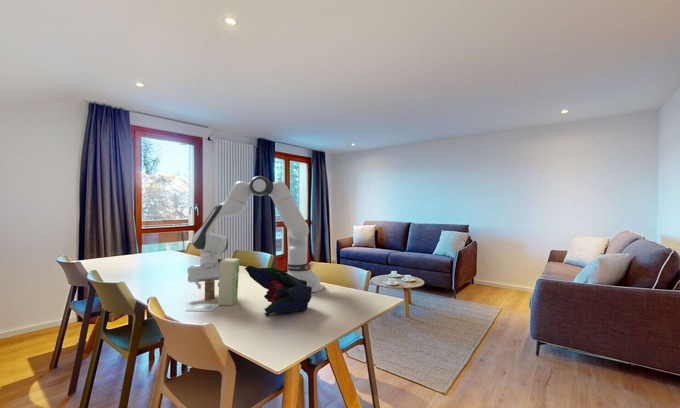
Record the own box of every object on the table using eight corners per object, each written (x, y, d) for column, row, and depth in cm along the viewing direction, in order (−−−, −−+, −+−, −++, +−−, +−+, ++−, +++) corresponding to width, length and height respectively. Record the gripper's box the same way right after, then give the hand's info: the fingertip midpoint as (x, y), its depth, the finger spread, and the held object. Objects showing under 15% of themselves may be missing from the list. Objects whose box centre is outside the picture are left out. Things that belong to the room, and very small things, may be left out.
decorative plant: (303, 335, 130) (233, 327, 120) (296, 296, 153) (237, 286, 142) (320, 298, 125) (248, 286, 114) (310, 263, 148) (250, 250, 137)
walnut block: (214, 296, 155) (214, 279, 155) (214, 298, 151) (214, 281, 151) (204, 297, 153) (204, 280, 153) (204, 300, 149) (204, 282, 149)
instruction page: (220, 305, 142) (220, 304, 142) (211, 311, 133) (211, 311, 133) (196, 304, 143) (196, 303, 143) (185, 310, 134) (185, 310, 134)
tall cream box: (233, 305, 141) (234, 261, 141) (217, 305, 141) (219, 261, 141) (239, 300, 149) (240, 258, 149) (224, 299, 149) (226, 258, 149)
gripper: (187, 262, 155) (186, 286, 146) (229, 259, 164) (230, 281, 155) (187, 269, 159) (186, 292, 150) (228, 266, 168) (229, 288, 159)
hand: (209, 287), depth 152 cm, fingers open, 8 cm apart
